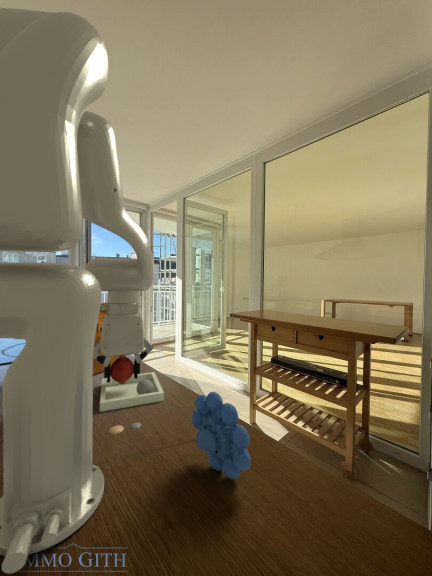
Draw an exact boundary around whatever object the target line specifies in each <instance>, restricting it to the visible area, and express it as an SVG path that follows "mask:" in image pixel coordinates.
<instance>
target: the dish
mask: <svg viewBox="0 0 432 576" xmlns="http://www.w3.org/2000/svg"><path fill="white" fill-rule="evenodd" d="M145 379H146V380H149V381H151V382H152V384H153V390H152V392H151V393H148V394H141V395H139V394H138V393H137V390H136V388H137V385H138V383H139V382H140V381H142V380H145ZM163 401H165V392H164V390H163V387H162V385H161V383H160V381H159V378H158V376H157V373H156V372H155V371H152V372H151V371H150V372H143V373H140V374H138V378H137V379H135V378H134V374H133V375H132V377H131V378H130V379H129V380H127V381H126V382H125V383H124V384H120V383H118V382H116V381H115V380H113V379H112V377H111V376H110V382H109V383H107V378H101V386H100V398H99V413H101V412H108V411H113V410H120V409H126V408H130V407H135V406H141V405H142V406H143V405H147V404H153V403H159V402H163Z"/></svg>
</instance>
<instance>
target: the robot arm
mask: <svg viewBox="0 0 432 576" xmlns="http://www.w3.org/2000/svg"><path fill="white" fill-rule="evenodd" d="M109 66H110V65H109V56H108V51H107V47H106V44H105V42H104V39H103V37H102V36H101V34H100V33H99V31H98V30H97V29H96V27H95V26H94V25H93V24H91V23H90V22H89V21H88V20H87V19H85V18H84V17H83V16H80V15H78V14H76V13H73V12H69V11H68V12H67V11H60V12H59V11H57V12H52V11H41V10H33V9H26V8H25V9H23V8H11V7H10V8H9V7H8V8H7V7H0V252H19V253H20V252H22V253H24V252H27V253H35V252H37V253H53V252H55V253H57V252H62V251H68V250H70V249H72V248H73V249H74V247H76V246H77V244H78V243H79V242H80V240H81V237H82V233H83V220H85V221H87V222H89V223H91V224H93V225H96V226H98V227H101V228H102V229H104V230H107V231H108V232H110V233H113V234H115V235H117V236H118V237H120V238H121V239H123V240H124V241H125V242H126V243H128V245H130V247H131V248H132V250H133V251H134V252H135V255H136V258H131V257H129V258H128V257H126V258H125V257H97V258H93V259H91V260H89V261H88V262H87V263H86V264H85V266H84V268H83V267H80V266H76V265H73V264H69V263H68V264H67V263H58V262H36V261H35V262H31V261H30V262H29V261H19V262H13V261H12V262H11V261H9V262H7V261H0V339H13V340H14V339H15V340H25V344H24V347H23V348H22V349H21V351H20V352H19V353H18V355H17V356H16V357H15V358H14V360H13V361H12V363H11V364H10V365H9V367H8V368H7V370H6V373H5V375H4V379H3V383H2V400H3V401H2V405H3V407H2V418H3V419H2V420H3V422H2V427H3V431H2V433H3V434H2V435H3V436H2V437H3V438H2V439H3V441H2V442H3V454H2V455H3V495H2V497H0V556H4V557H3V560H2V563H1V571H2V572H3V573H4V574H8V575H10V574H13V573H17V572H18V571H19V570H21V569H22V568H23V567H24V565H26V563H27V559H28V557H29V556H28V555H31V554H36V553H39V552H41V551H43V550H46V549H49V548H51V547H53V546H54V545H57V544H59V543H60V542H62V541H64V540H65V539H67V538H68V537H70V536H71V535H72V534H74V533H75V532H77V530H78V529H80V528H81V527H82V526H83V525H84V524H85V523H86V522H87V521H88V520H89V519H90V517H91V516H93V515H94V513H95V511H96V509H97V508H98V506H99V505H100V503H101V501H102V499H103V495H104V492H105V491H104V490H105V477H104V474H103V472H102V469H100V467H99V466H98V465H96V464H94V462H93V423H94V422H93V421H94V420H93V417H94V415H93V414H94V413H93V412H94V411H93V408H94V407H93V406H94V405H93V404H94V396H93V393H94V386H93V385H94V375H93V357H94V358H95V359H96V360H97V361H98V362H100V363H101V364H102V365H103V366H104V373H103V375H104V376H103V377H104V378H107V383H109V382H110V378H111V375H110V360H111V357H112V356H123V355H126V356H130V355H133V356H134V361H133V365H134V373H133V375H134V378H135V379H137V378H138V374H141V363H142V362H143V360H144V359H145V358H146V357H147V356H148V354H149V353H151V351H153V349H154V346H153V345H152V344H151V343H150V342H149V341H148V340H147V339H146V338H145V333H144V329H145V328H144V321H143V316H142V314H140V313H139V311H140V310H139V308H140V307H139V305H140V303H139V302H140V299H139V298H140V297H139V296H140V293H141V292H145V291H148V290H149V289H150V288H151V286H152V284H153V282H154V264H153V253H152V247H151V243H150V241H149V238H148V237H147V235H146V233H145V232H144V230H143V229H142V227H141V226H140V225H139V224H138V222H137V221H136V220H135V219H134V218H133V217H132V216H131V215H130V214H129V213H128V211H127V210H126V206H125V200H124V192H123V185H122V177H121V169H120V163H119V161H120V160H119V155H118V149H117V148H118V147H117V140H116V135H115V131H114V129H113V127H112V125H111V123H110V122H109V121H108V120H107V118H105V117H103V116H101V115H99V114H97V113H95V112H91V111H87V109H88V108H89V107H90V106H91V105H92V104H94V103H95V102H97V100H99V99H100V98H101V96H102V95H103V93H104V91H105V90H106V87H107V82H108V79H109V72H110V71H109V69H110V68H109ZM103 292H107V302H108V304H106V305H101V303H102V293H103ZM100 307H101V311H106V312H107V315H105V316H104V319H103V324H102V335H101V341H100V342H99V343H98V344H97V345H96V346H95V347H94V341H95V334H96V328H97V322H98V317H99V312H100ZM144 347H145V348H144ZM100 348H101V353H102V355H103V356H105V358H104V357H103V356H102V355H100V354H99V353H98V350H99V349H100Z"/></svg>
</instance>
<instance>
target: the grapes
mask: <svg viewBox="0 0 432 576" xmlns="http://www.w3.org/2000/svg"><path fill="white" fill-rule="evenodd" d="M194 405H195V406H194V407H195V410H194V411H193V412H192V415H191V424H192V426H193V427H195V428H196V429H197V430H198V432H197V435H196V445H197V447H198V448H199V449H200V450H201V451H203V452H205V453H207V454H208V455H207V457H208V458H207V459H208V463H209V466H210V467H211V468H212V469H213V470H215V471H218V472H219V471H223V474H225V476H227V477H228V478H229V479H231V480H237V479H238V478H239V476H241V471H242V472H245V471H249V469H250V468H251V465H252V464H251V462H252V461H251V460H252V458H251V455H250V453H249V451H248V450H247V448H249V446H250V441H251V438H250V434H249V432H248V429H247V428H246V427H244V426H243V425H241V424H238V422H239V413H238V410H237V408H236V406H234V405H233V404H232V403H229V402H225V403H224V400H223V398H222V396H221V395H220V394H219V393H217V392H216V391H210V392H209V393H208V394H207V395H204V394H200V395H198V396H197V397H196V398H195V404H194Z"/></svg>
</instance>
